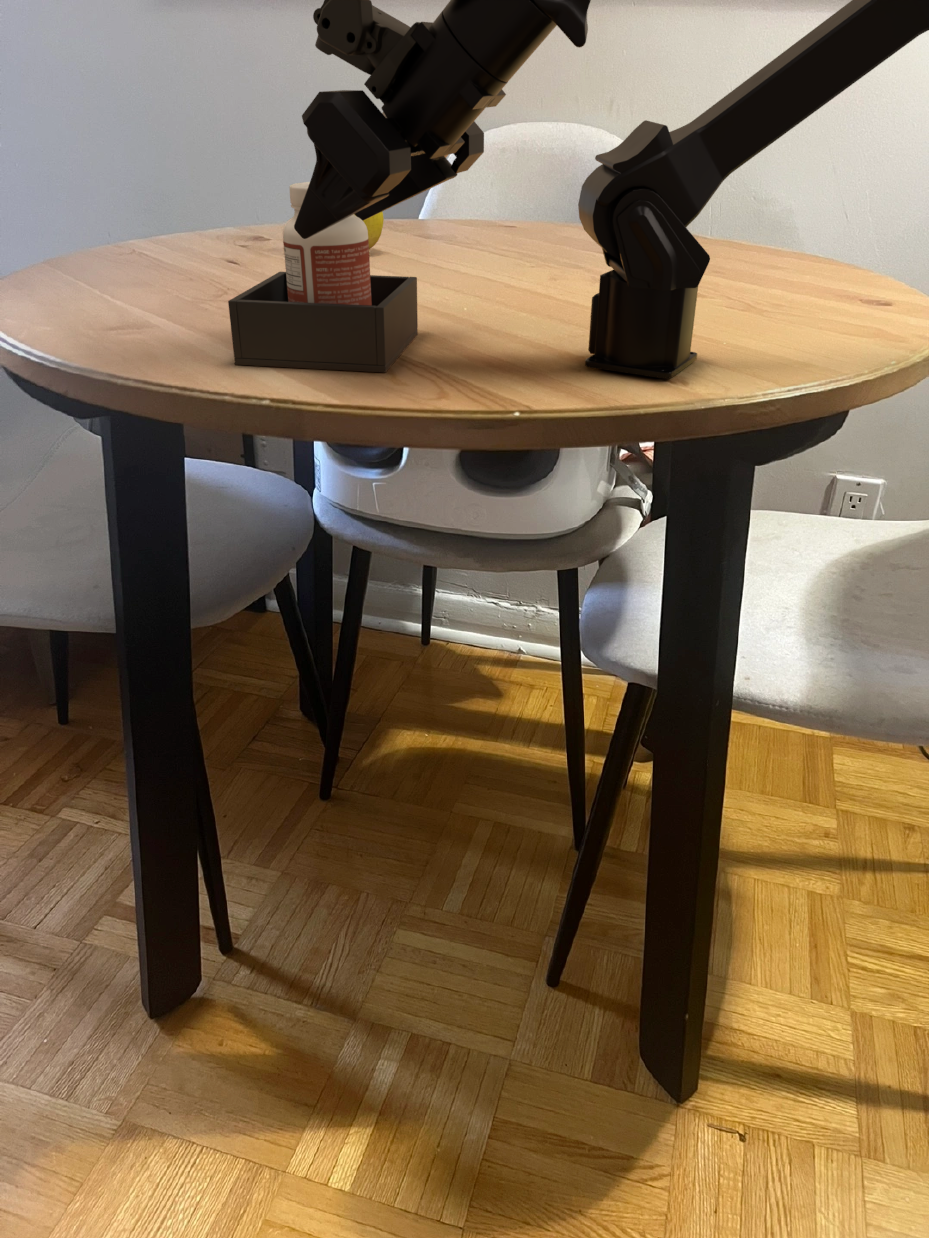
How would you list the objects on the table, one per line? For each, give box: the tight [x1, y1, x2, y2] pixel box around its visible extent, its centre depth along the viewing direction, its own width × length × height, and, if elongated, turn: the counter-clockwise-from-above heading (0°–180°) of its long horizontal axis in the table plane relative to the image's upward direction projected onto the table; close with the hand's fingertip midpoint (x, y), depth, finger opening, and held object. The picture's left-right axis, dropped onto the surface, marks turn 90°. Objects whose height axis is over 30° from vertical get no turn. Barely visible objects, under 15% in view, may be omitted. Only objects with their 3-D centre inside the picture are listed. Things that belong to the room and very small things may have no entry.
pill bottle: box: [282, 181, 372, 305], centre depth 73 cm, size 6×6×11 cm
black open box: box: [227, 271, 419, 374], centre depth 74 cm, size 11×11×4 cm
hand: (329, 224), depth 71 cm, fingers open, 9 cm apart
